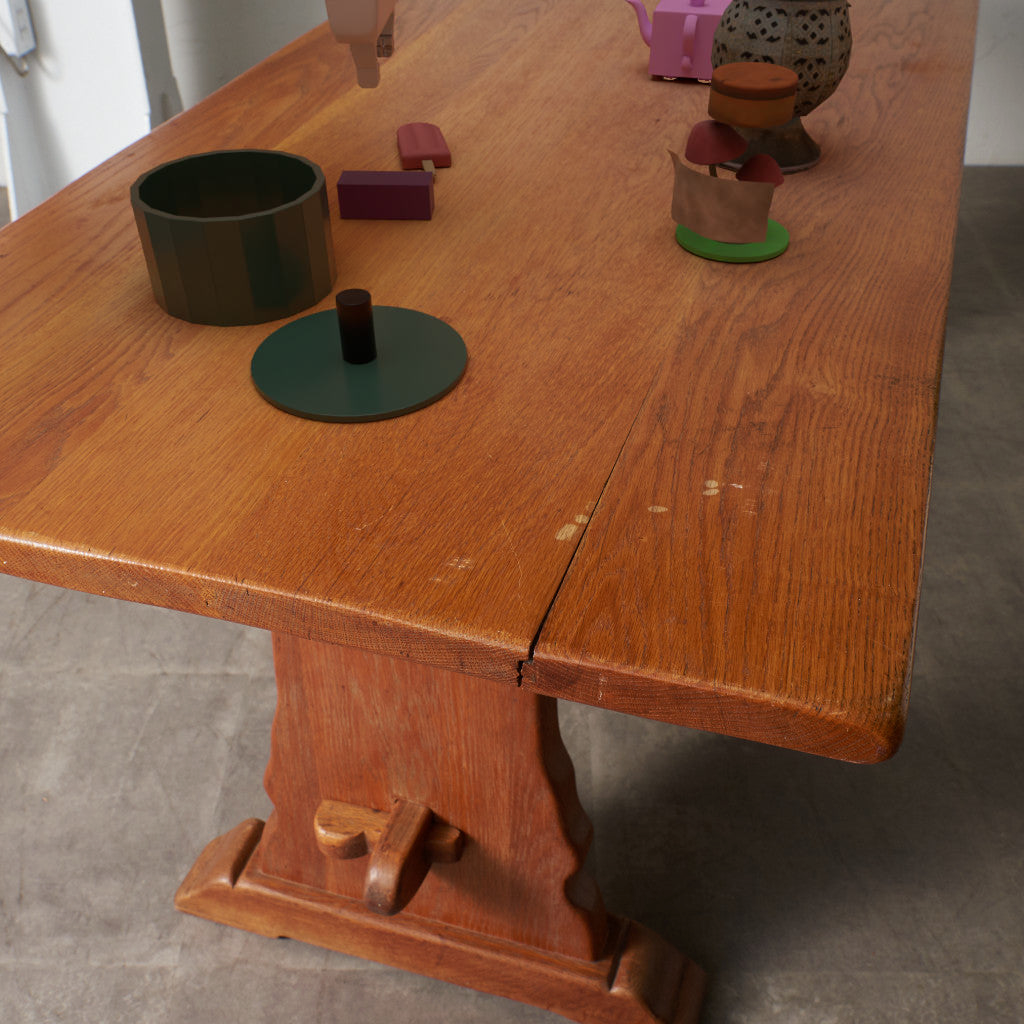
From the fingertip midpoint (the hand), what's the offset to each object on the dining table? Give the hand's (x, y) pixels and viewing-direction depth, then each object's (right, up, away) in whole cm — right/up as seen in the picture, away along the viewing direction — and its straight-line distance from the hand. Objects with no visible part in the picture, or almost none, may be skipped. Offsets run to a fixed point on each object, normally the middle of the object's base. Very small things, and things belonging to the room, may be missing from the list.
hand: (377, 70), depth 92 cm
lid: (+1, -29, -15) cm, 33 cm away
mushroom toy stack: (+33, -15, +4) cm, 36 cm away
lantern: (+41, 0, +21) cm, 46 cm away
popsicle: (+2, -1, +20) cm, 20 cm away
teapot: (+36, +19, +45) cm, 60 cm away
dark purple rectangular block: (0, -10, +9) cm, 14 cm away
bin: (-11, -21, -4) cm, 24 cm away
